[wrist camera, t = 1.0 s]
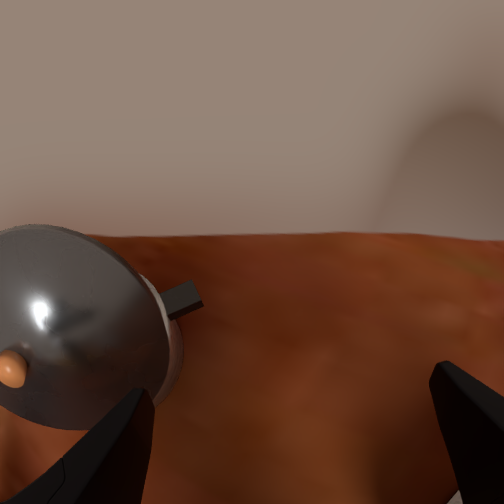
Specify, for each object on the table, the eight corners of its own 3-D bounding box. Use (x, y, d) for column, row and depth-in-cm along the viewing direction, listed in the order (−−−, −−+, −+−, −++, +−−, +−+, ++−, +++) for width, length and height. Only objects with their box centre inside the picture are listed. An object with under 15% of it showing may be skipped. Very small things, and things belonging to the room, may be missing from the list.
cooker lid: (200, 376, 18) (210, 401, 16) (44, 432, 15) (43, 456, 13) (99, 175, 12) (94, 183, 10) (-77, 286, 9) (-94, 306, 7)
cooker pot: (237, 374, 23) (229, 356, 19) (60, 440, 19) (26, 432, 15) (184, 265, 29) (171, 233, 26) (40, 330, 25) (13, 308, 22)
